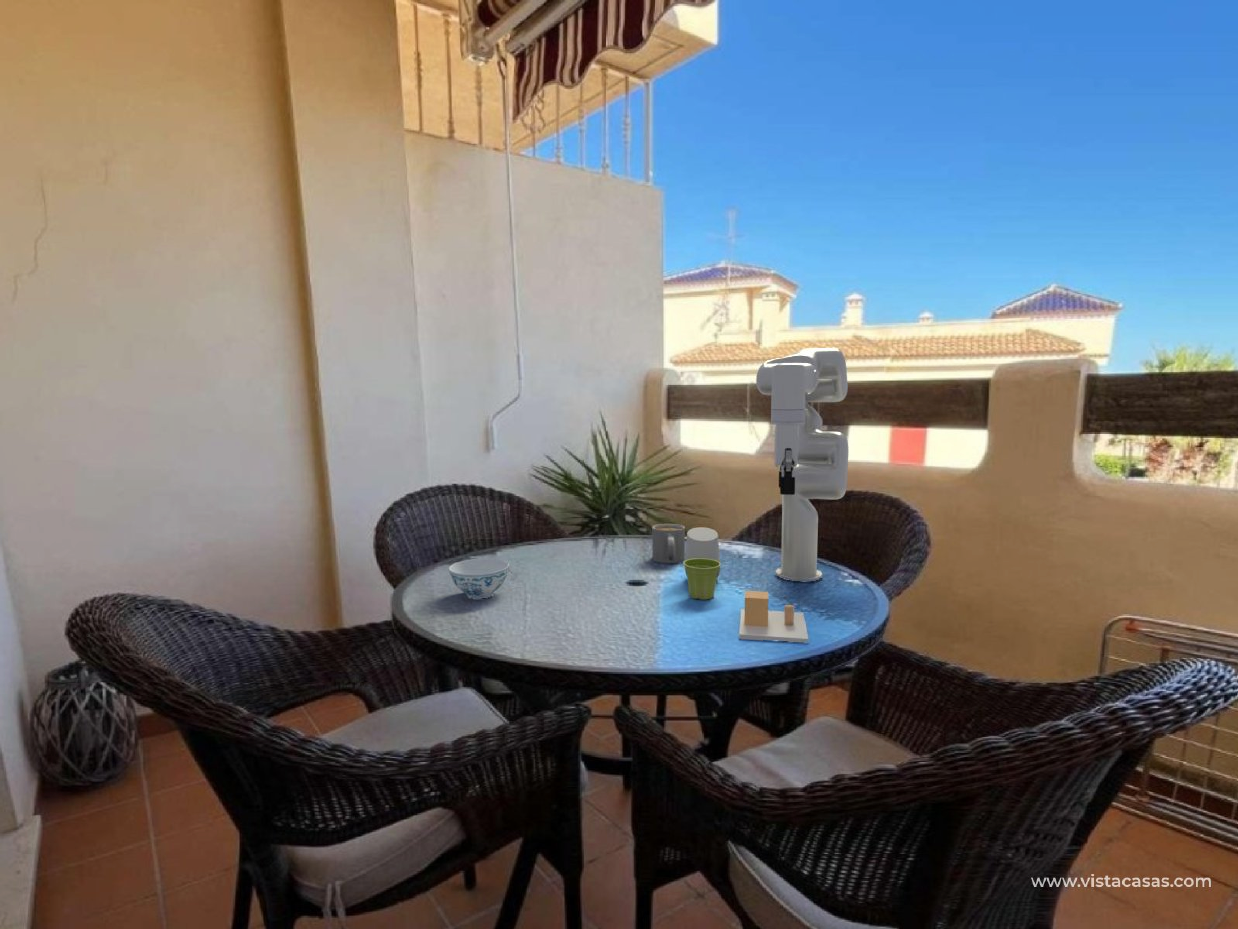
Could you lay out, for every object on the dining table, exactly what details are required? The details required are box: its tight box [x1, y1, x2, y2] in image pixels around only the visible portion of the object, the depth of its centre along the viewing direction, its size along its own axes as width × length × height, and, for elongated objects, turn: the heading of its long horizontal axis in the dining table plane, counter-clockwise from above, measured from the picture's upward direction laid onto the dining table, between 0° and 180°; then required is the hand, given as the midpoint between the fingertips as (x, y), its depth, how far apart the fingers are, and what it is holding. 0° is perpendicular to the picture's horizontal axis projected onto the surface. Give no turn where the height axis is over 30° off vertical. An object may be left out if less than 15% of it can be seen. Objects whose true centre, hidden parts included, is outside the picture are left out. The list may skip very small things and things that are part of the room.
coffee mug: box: [651, 523, 686, 564], centre depth 200 cm, size 13×10×10 cm
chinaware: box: [448, 558, 510, 600], centre depth 168 cm, size 15×15×8 cm
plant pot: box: [682, 558, 722, 601], centre depth 165 cm, size 9×9×9 cm
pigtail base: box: [738, 604, 809, 643], centre depth 143 cm, size 16×14×5 cm
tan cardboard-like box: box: [744, 590, 769, 627], centre depth 144 cm, size 5×5×6 cm
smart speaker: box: [684, 526, 721, 580], centre depth 179 cm, size 10×9×14 cm
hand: (786, 491), depth 152 cm, fingers open, 9 cm apart
